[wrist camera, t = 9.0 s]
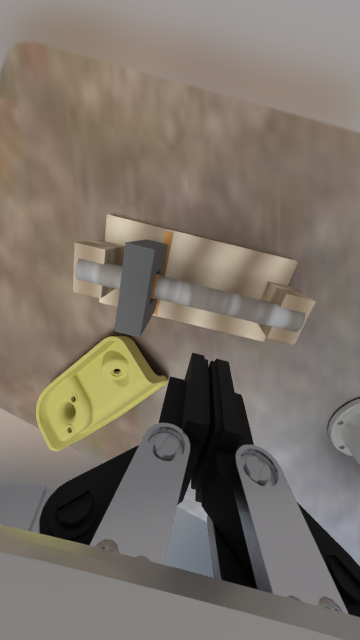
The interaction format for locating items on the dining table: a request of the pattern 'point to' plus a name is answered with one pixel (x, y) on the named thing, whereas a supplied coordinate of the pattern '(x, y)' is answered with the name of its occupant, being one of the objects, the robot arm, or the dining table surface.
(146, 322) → the collar
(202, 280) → the pipe stand
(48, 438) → the plastic component
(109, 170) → the dining table surface
